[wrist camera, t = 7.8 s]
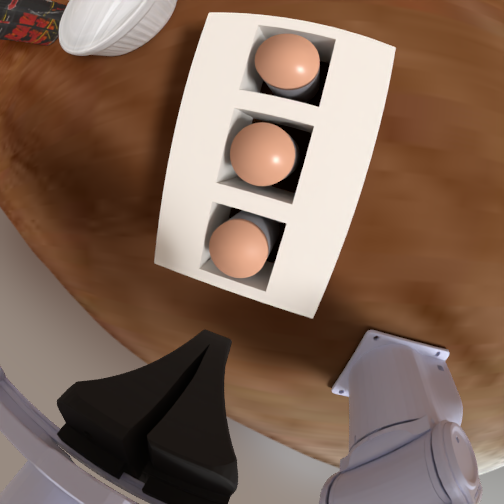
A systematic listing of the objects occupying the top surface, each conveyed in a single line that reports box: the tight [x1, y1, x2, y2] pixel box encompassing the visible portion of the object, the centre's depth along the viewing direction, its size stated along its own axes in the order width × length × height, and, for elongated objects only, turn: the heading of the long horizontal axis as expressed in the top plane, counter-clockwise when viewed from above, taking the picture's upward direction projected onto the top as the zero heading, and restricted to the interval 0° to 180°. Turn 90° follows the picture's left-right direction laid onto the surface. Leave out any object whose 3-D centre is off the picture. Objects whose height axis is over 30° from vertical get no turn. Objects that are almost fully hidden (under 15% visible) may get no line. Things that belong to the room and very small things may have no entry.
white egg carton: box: [154, 13, 395, 319], centre depth 16 cm, size 11×17×5 cm, turn 166°
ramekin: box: [59, 0, 177, 56], centre depth 14 cm, size 11×11×5 cm
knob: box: [255, 34, 320, 103], centre depth 14 cm, size 3×3×5 cm
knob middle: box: [230, 122, 300, 186], centre depth 16 cm, size 3×3×5 cm
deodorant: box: [0, 0, 67, 46], centre depth 10 cm, size 6×6×15 cm
